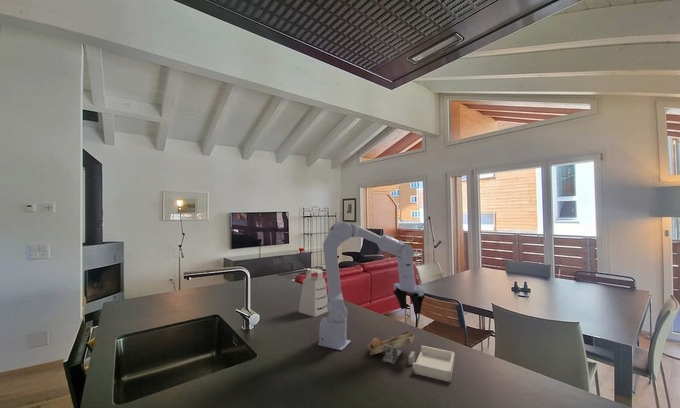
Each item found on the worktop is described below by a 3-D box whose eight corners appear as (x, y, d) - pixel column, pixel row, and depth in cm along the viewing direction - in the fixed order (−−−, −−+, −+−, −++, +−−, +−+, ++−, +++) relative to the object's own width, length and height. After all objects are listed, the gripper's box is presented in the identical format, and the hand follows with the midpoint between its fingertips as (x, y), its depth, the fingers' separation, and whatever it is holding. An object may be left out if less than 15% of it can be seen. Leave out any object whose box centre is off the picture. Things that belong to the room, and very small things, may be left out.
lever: (370, 355, 95) (367, 346, 96) (380, 342, 105) (377, 334, 106) (411, 343, 90) (407, 334, 90) (418, 330, 99) (414, 322, 100)
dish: (413, 373, 85) (413, 363, 85) (421, 353, 97) (421, 345, 97) (450, 382, 80) (450, 372, 80) (454, 360, 92) (454, 352, 92)
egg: (371, 349, 96) (369, 340, 97) (374, 346, 99) (372, 336, 99) (380, 350, 95) (378, 340, 95) (382, 346, 98) (381, 336, 98)
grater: (312, 306, 147) (313, 267, 148) (329, 310, 141) (329, 269, 141) (298, 312, 138) (299, 270, 139) (315, 316, 132) (315, 272, 133)
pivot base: (382, 361, 92) (382, 345, 92) (389, 350, 99) (389, 335, 100) (410, 368, 88) (410, 351, 88) (416, 356, 95) (416, 340, 95)
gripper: (428, 275, 105) (432, 313, 104) (401, 270, 117) (405, 303, 117) (413, 279, 101) (418, 318, 101) (388, 273, 114) (392, 308, 114)
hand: (410, 310), depth 109 cm, fingers open, 7 cm apart
